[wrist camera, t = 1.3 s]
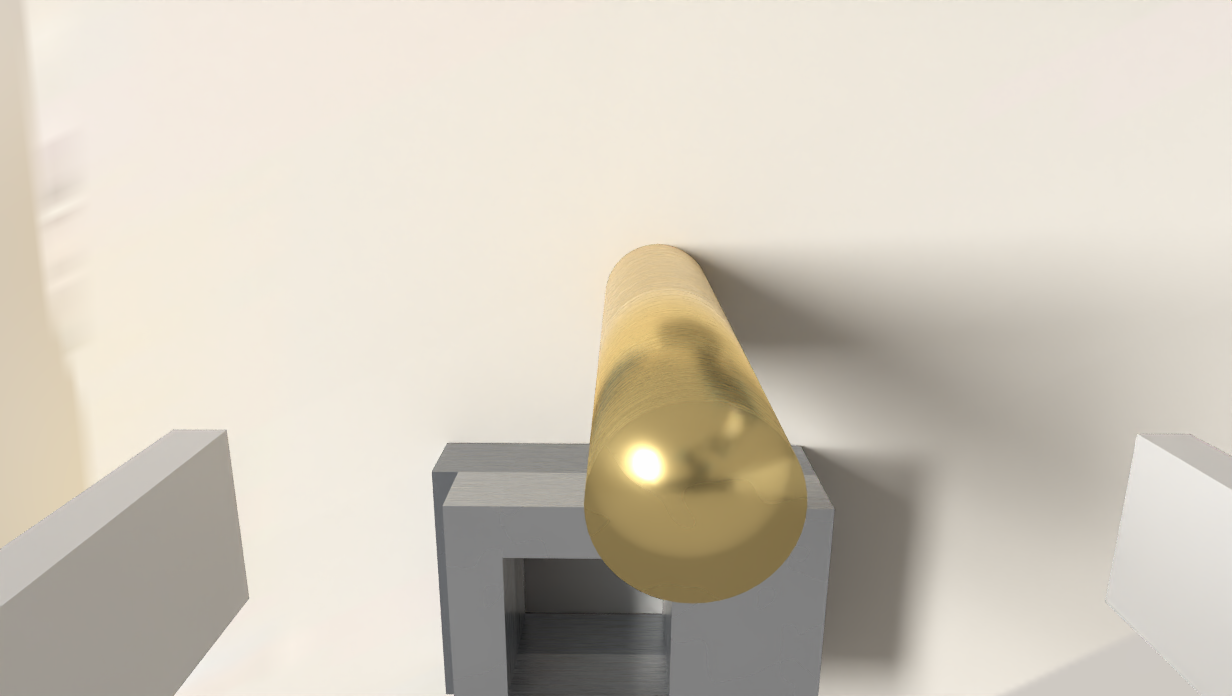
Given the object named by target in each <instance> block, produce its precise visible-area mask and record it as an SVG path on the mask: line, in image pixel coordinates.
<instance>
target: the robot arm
mask: <svg viewBox="0 0 1232 696" xmlns="http://www.w3.org/2000/svg"><path fill="white" fill-rule="evenodd" d="M248 599H249V594H248V586H247V579H246V571H245V564H244V556H243V549H242V541H241V534H240V526H239V519H238V511H237V504H236V496H235V489H234V481H233V474H232V467H231V459H230V452H229V444H228V437H227V430H172V431H171V432H169V433H168V434H166V435H165V436H163V437H162V438H160V439H159V440H158V441H156V442H155V443H153V444H152V445H150V446H149V447H147V448H146V449H144V450H143V451H142V452H140V453H139V454H137V455H136V456H134V457H133V458H131V459H130V460H129V461H127V462H126V463H124V464H123V465H121V466H120V467H118V468H117V469H115V470H114V471H113V472H111V473H110V474H108V475H107V476H105V477H104V478H102V479H101V480H99V481H98V482H97V483H95V484H94V485H92V486H91V487H89V488H88V489H86V490H85V491H83V492H82V493H81V494H79V495H78V496H76V497H75V498H73V499H72V500H70V501H69V502H68V503H66V504H65V505H63V506H62V507H60V508H59V509H57V510H56V511H54V512H53V513H52V514H50V515H49V516H47V517H46V518H44V519H43V520H41V521H40V522H39V523H37V524H36V525H34V526H33V527H31V528H30V529H28V530H27V531H26V532H24V533H22V534H21V535H20V536H18V537H17V538H15V539H14V540H12V541H11V542H9V543H8V544H6V545H5V546H4V547H2V548H1V549H0V696H174V695H175V693H176V692H177V691H178V689H179V688H180V687H181V686H182V684H183V683H184V682H185V680H186V679H187V678H188V676H189V675H190V674H191V673H192V671H193V670H194V669H195V667H196V666H197V665H198V664H199V662H200V661H201V660H202V658H203V657H204V656H205V655H206V653H207V652H208V651H209V649H210V648H211V647H212V646H213V644H214V643H215V642H216V640H217V639H218V638H219V637H220V635H221V634H222V633H223V631H224V630H225V629H226V627H227V626H228V625H229V624H230V622H231V621H232V620H233V618H234V617H235V616H236V615H237V613H238V612H239V611H240V609H241V608H242V607H243V606H244V604H245V603H246V602H247V600H248ZM1105 602H1106V603H1107V604H1108V605H1109V606H1110V607H1111V608H1112V609H1113V610H1114V611H1115V612H1116V613H1117V614H1118V615H1119V616H1120V617H1121V618H1122V619H1123V620H1124V621H1125V622H1126V623H1127V624H1128V625H1129V626H1130V627H1131V628H1133V629H1134V630H1135V631H1136V632H1137V633H1138V634H1139V635H1140V636H1141V637H1142V638H1143V639H1144V640H1145V641H1146V642H1147V643H1148V644H1149V645H1150V646H1151V647H1152V648H1153V649H1154V650H1155V651H1156V652H1157V653H1158V654H1159V655H1160V656H1161V657H1162V658H1163V659H1164V660H1165V661H1166V662H1167V663H1168V664H1169V665H1171V666H1172V668H1174V669H1175V670H1176V671H1177V672H1178V673H1179V674H1180V675H1181V676H1182V677H1183V678H1184V679H1185V680H1186V681H1187V682H1188V683H1189V684H1190V685H1191V686H1192V687H1193V688H1194V689H1195V690H1196V691H1197V692H1198V693H1199V694H1200V695H1201V696H1232V456H1230V455H1228V454H1226V453H1225V452H1223V451H1221V450H1219V449H1217V448H1215V447H1213V446H1212V445H1210V444H1208V443H1206V442H1204V441H1202V440H1200V439H1199V438H1197V437H1195V436H1193V435H1191V434H1137V438H1136V443H1135V448H1134V453H1133V459H1132V464H1131V469H1130V474H1129V480H1128V485H1127V490H1126V495H1125V501H1124V506H1123V511H1122V516H1121V522H1120V527H1119V532H1118V537H1117V542H1116V548H1115V553H1114V558H1113V563H1112V569H1111V574H1110V579H1109V584H1108V590H1107V595H1106V600H1105Z"/></svg>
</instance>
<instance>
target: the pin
mask: <svg viewBox="0 0 1232 696" xmlns="http://www.w3.org/2000/svg"><path fill="white" fill-rule="evenodd" d="M806 512H807V488H806V481H805V478H804V474H803V471H802V468H801V465H800V463H799V461H798V459H797V457H796V455H795V453H794V451H793V449H792V447H791V445H790V443H789V441H788V439H787V437H786V435H785V433H784V431H783V429H782V427H781V425H780V423H779V421H778V419H777V417H776V415H775V413H774V411H773V409H772V407H771V405H770V403H769V401H768V399H767V397H766V395H765V393H764V391H763V389H762V387H761V385H760V383H759V381H758V379H757V377H756V375H755V373H754V371H753V369H752V367H751V365H750V363H749V361H748V360H747V358H746V356H745V354H744V352H743V350H742V348H741V346H740V344H739V342H738V340H737V338H736V336H735V334H734V332H733V330H732V328H731V326H730V324H729V322H728V320H727V318H726V316H725V314H724V312H723V310H722V308H721V306H720V304H719V302H718V300H717V298H716V296H715V294H714V292H713V290H712V288H711V286H710V284H709V282H708V280H707V278H706V276H705V274H704V272H703V270H702V269H701V267H700V266H699V264H698V263H697V262H696V261H695V260H694V259H693V258H692V257H691V256H690V255H689V254H687V253H686V252H684V251H682V250H680V249H678V248H676V247H673V246H669V245H662V244H654V245H647V246H643V247H640V248H637V249H635V250H633V251H631V252H630V253H628V254H626V255H625V256H624V257H623V258H622V259H621V260H620V261H619V262H618V263H617V264H616V266H615V267H614V268H613V270H612V272H611V274H610V276H609V279H608V282H607V286H606V294H605V303H604V313H603V322H602V332H601V342H600V351H599V361H598V370H597V380H596V389H595V399H594V409H593V418H592V428H591V437H590V447H589V456H588V466H587V476H586V485H585V496H584V513H585V521H586V525H587V530H588V533H589V535H590V538H591V541H592V543H593V545H594V547H595V549H596V551H597V552H598V554H599V556H600V557H601V558H602V560H603V561H604V562H605V564H606V565H607V566H608V567H609V568H610V569H611V570H612V571H613V572H614V573H615V574H616V575H617V576H618V577H619V578H621V579H622V580H623V581H624V582H626V583H627V584H629V585H630V586H632V587H634V588H635V589H637V590H639V591H641V592H643V593H645V594H648V595H650V596H653V597H656V598H659V599H662V600H667V601H672V602H677V603H692V604H693V603H708V602H714V601H720V600H724V599H727V598H731V597H734V596H737V595H739V594H741V593H744V592H746V591H748V590H750V589H752V588H754V587H755V586H757V585H759V584H760V583H762V582H763V581H764V580H766V579H767V578H769V577H770V576H771V575H772V574H773V573H774V572H775V571H776V570H777V569H778V568H780V566H781V565H782V564H783V563H784V562H785V560H786V559H787V558H788V557H789V555H790V554H791V552H792V551H793V549H794V547H795V546H796V544H797V542H798V539H799V537H800V535H801V533H802V529H803V526H804V523H805V519H806Z"/></svg>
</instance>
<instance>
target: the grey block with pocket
mask: <svg viewBox="0 0 1232 696" xmlns="http://www.w3.org/2000/svg"><path fill="white" fill-rule="evenodd" d="M589 447H590V444H488V443H447V445H446V446H445V448H444V450H443V452H442V454H441V456H440V458H439V459H438V461H437V463H436V465H435V467H434V469H433V471H432V482H433V497H434V512H435V528H436V543H437V559H438V574H439V590H440V605H441V621H442V636H443V652H444V667H445V683H446V694H454V696H818V691H819V680H820V669H821V658H822V646H823V635H824V624H825V613H826V601H827V590H828V579H829V568H830V556H831V545H832V534H833V523H834V511H835V509H834V507H833V505H832V503H831V501H830V500H829V498H828V496H827V494H826V492H825V490H824V488H823V487H822V485H821V483H820V481H819V479H818V477H817V475H816V473H815V472H814V470H813V468H812V466H811V464H810V462H809V460H808V458H807V457H806V455H805V453H804V451H803V449H802V447H801V446H791V447H792V449H793V451H794V453H795V455H796V457H797V459H798V461H799V463H800V465H801V468H802V471H803V474H804V478H805V481H806V488H807V512H806V519H805V523H804V526H803V529H802V533H801V535H800V537H799V539H798V542H797V544H796V546H795V547H794V549H793V551H792V552H791V554H790V555H789V557H788V558H787V559H786V560H785V562H784V563H783V564H782V565H781V566H780V568H778V569H777V570H776V571H775V572H774V573H773V574H772V575H771V576H770V577H769V578H767V579H766V580H764V581H763V582H762V583H760V584H759V585H757V586H755V587H754V588H752V589H750V590H748V591H746V592H744V593H741V594H739V595H737V596H734V597H731V598H727V599H724V600H720V601H714V602H708V603H693V604H692V603H677V602H672V601H667V600H663V610H662V614H575V613H525V583H524V558H565V559H602V558H601V557H600V556H599V554H598V552H597V551H596V549H595V547H594V545H593V543H592V541H591V538H590V535H589V533H588V530H587V525H586V521H585V513H584V496H585V485H586V476H587V466H588V456H589Z"/></svg>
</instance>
